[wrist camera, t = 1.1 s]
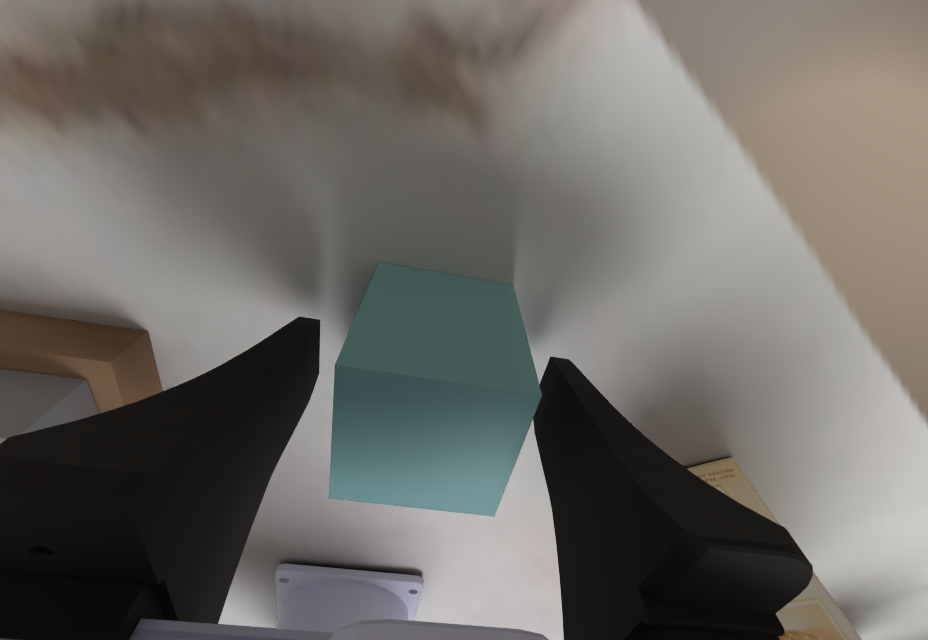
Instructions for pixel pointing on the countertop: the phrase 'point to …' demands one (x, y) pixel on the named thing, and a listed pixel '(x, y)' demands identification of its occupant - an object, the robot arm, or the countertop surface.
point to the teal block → (431, 393)
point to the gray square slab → (41, 401)
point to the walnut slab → (82, 355)
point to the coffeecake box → (813, 611)
